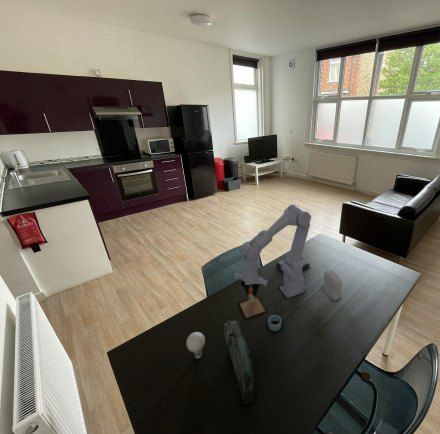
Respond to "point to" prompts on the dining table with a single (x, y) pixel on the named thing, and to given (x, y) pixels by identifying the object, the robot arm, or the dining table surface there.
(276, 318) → the teal ring
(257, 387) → the dining table surface
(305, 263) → the calculator
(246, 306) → the coaster
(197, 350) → the lightbulb
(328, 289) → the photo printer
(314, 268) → the dining table surface
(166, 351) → the dining table surface
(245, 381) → the dark teal slab
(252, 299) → the marker
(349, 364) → the dining table surface
